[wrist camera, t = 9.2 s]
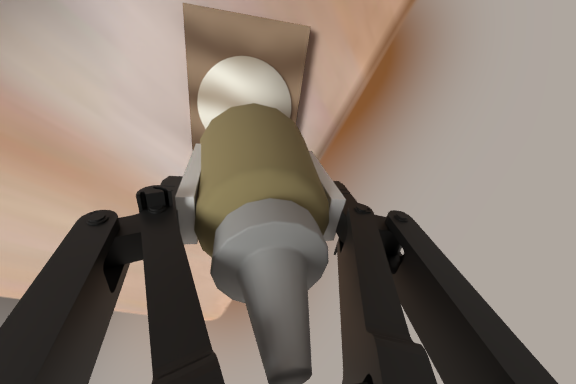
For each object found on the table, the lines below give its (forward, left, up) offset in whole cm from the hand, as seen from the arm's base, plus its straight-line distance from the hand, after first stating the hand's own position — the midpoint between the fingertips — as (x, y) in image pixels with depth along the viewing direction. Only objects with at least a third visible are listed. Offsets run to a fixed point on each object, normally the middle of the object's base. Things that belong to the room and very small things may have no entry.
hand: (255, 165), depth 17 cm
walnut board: (0, 0, -19) cm, 19 cm away
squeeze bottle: (0, 0, -5) cm, 5 cm away
